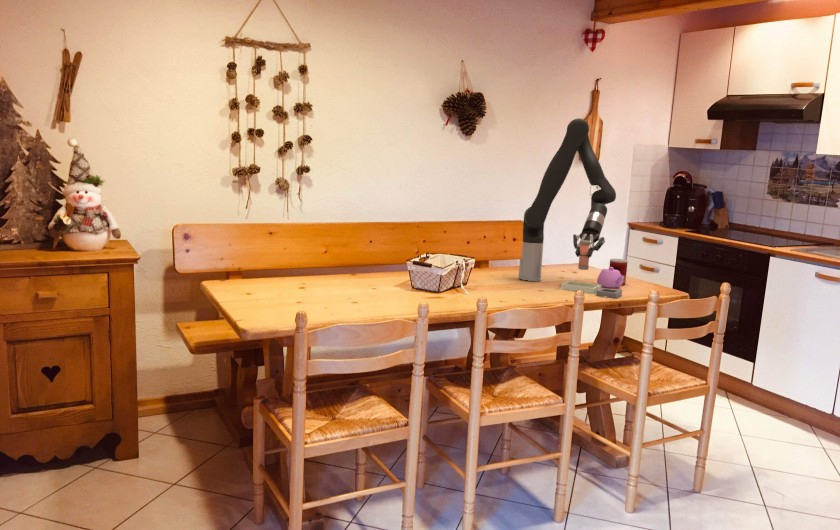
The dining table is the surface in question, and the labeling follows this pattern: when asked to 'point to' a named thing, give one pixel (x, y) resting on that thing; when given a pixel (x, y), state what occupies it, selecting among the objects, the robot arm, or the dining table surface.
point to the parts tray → (580, 287)
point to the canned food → (620, 267)
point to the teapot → (610, 278)
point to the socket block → (609, 293)
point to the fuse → (584, 255)
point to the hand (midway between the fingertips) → (582, 256)
